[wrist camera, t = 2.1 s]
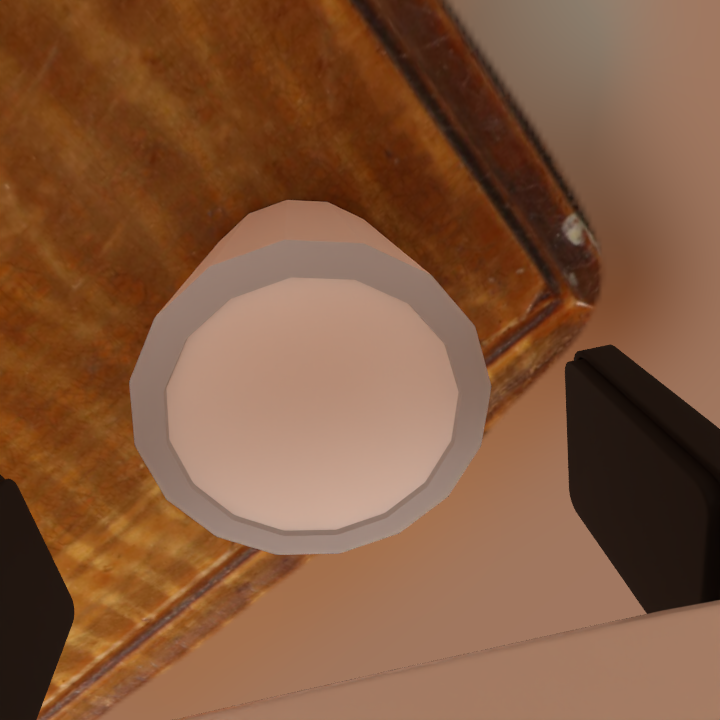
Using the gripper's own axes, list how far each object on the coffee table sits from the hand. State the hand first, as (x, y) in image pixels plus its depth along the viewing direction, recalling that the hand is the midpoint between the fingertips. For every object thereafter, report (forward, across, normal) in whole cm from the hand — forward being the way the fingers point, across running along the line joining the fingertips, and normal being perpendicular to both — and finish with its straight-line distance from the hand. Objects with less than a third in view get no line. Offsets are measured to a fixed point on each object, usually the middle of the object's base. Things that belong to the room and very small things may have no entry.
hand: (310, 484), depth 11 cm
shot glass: (+9, 0, 0) cm, 9 cm away
